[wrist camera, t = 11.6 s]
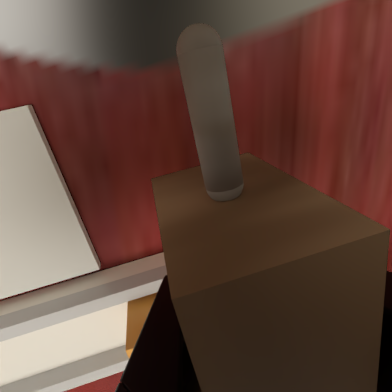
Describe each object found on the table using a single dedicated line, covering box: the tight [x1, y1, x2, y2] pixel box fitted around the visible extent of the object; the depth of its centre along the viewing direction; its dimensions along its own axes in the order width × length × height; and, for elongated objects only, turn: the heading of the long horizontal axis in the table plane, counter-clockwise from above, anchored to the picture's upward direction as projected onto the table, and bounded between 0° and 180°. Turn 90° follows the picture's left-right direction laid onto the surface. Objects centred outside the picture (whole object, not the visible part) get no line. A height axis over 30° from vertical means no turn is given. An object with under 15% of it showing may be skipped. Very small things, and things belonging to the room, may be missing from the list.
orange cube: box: [126, 292, 157, 358], centre depth 16 cm, size 4×4×4 cm
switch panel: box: [0, 252, 167, 392], centre depth 18 cm, size 20×6×3 cm, turn 102°
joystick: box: [151, 23, 390, 392], centre depth 6 cm, size 3×9×5 cm, turn 12°
